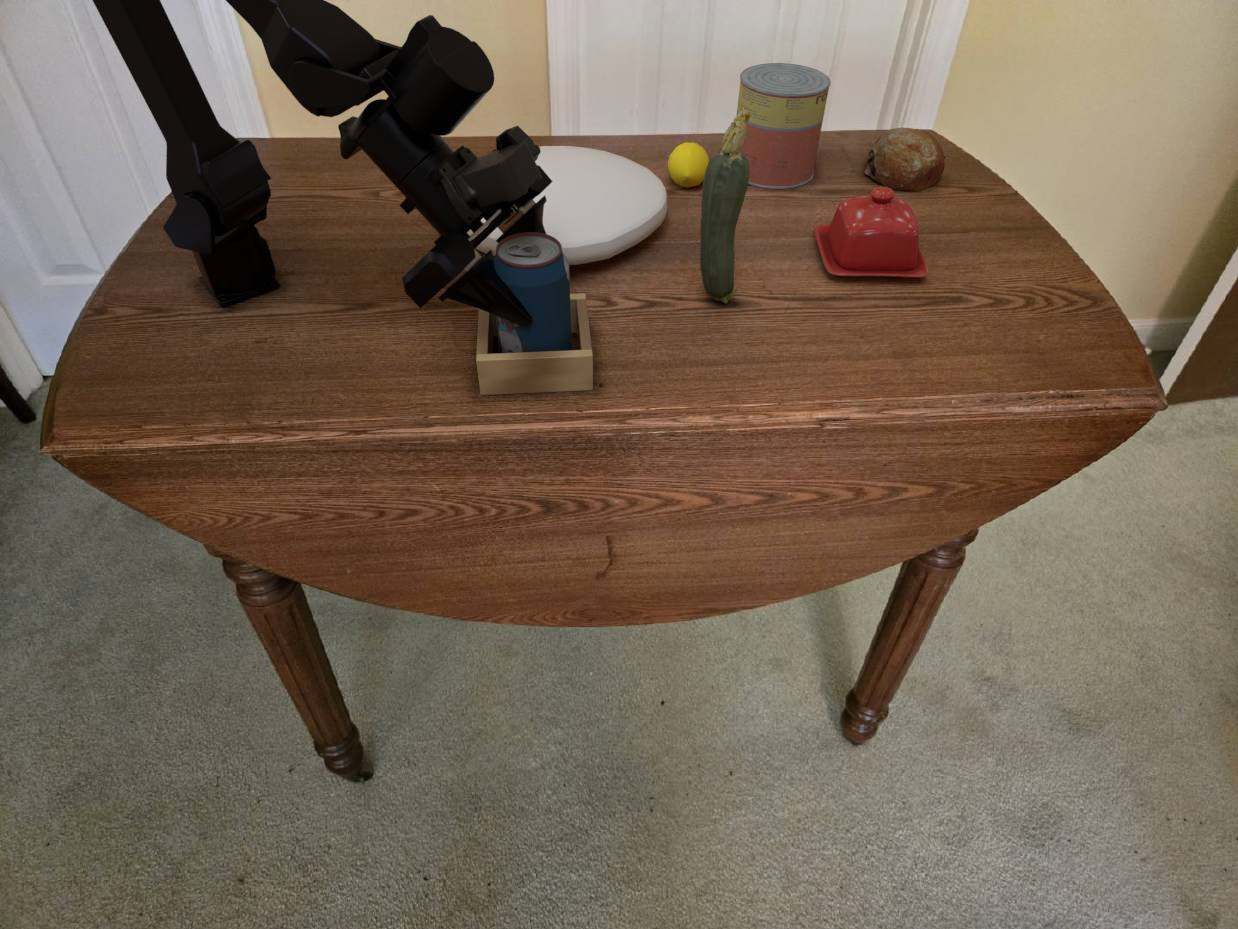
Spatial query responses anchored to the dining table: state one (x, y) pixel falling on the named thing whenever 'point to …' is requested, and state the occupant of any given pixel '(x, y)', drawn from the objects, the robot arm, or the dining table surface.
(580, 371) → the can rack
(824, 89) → the canned food
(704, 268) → the vegetable
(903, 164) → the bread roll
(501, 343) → the soda can
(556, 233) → the plate
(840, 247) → the butter dish
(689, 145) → the lemon
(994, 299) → the dining table surface
